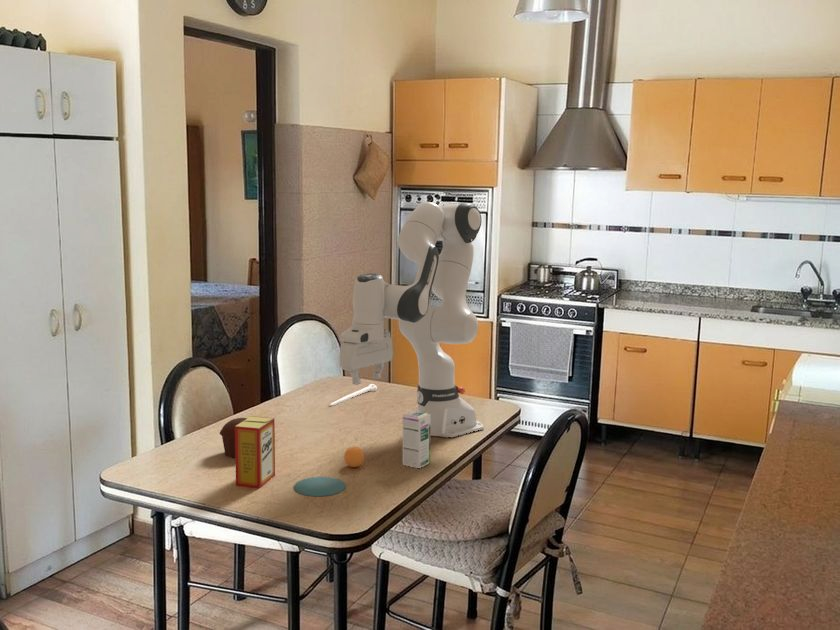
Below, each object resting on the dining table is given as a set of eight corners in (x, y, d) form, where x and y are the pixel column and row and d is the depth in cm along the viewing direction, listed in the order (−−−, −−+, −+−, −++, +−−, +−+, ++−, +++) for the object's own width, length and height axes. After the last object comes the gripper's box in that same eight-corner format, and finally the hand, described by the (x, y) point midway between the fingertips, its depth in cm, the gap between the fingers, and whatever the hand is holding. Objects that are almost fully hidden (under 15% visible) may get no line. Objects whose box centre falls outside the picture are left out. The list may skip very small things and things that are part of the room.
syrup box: (419, 469, 223) (420, 417, 221) (401, 465, 226) (402, 414, 224) (430, 463, 228) (431, 412, 225) (412, 459, 231) (413, 409, 228)
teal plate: (333, 474, 218) (333, 473, 218) (354, 490, 207) (354, 490, 207) (286, 482, 212) (286, 481, 212) (305, 499, 200) (305, 499, 200)
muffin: (248, 444, 241) (247, 411, 239) (269, 454, 233) (269, 420, 232) (212, 453, 233) (211, 419, 231) (233, 463, 225) (232, 428, 223)
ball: (358, 462, 228) (359, 442, 227) (367, 468, 223) (367, 448, 222) (340, 465, 225) (340, 445, 224) (349, 471, 221) (349, 451, 220)
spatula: (337, 408, 282) (337, 400, 281) (327, 407, 283) (327, 399, 283) (379, 391, 306) (379, 383, 306) (369, 389, 308) (369, 382, 307)
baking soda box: (259, 488, 207) (258, 427, 205) (235, 485, 209) (234, 424, 206) (275, 475, 217) (274, 416, 214) (252, 473, 218) (251, 414, 215)
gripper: (380, 327, 239) (379, 373, 241) (336, 335, 222) (335, 385, 224) (398, 329, 235) (397, 376, 237) (354, 338, 218) (353, 389, 220)
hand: (366, 381), depth 230 cm, fingers open, 8 cm apart
